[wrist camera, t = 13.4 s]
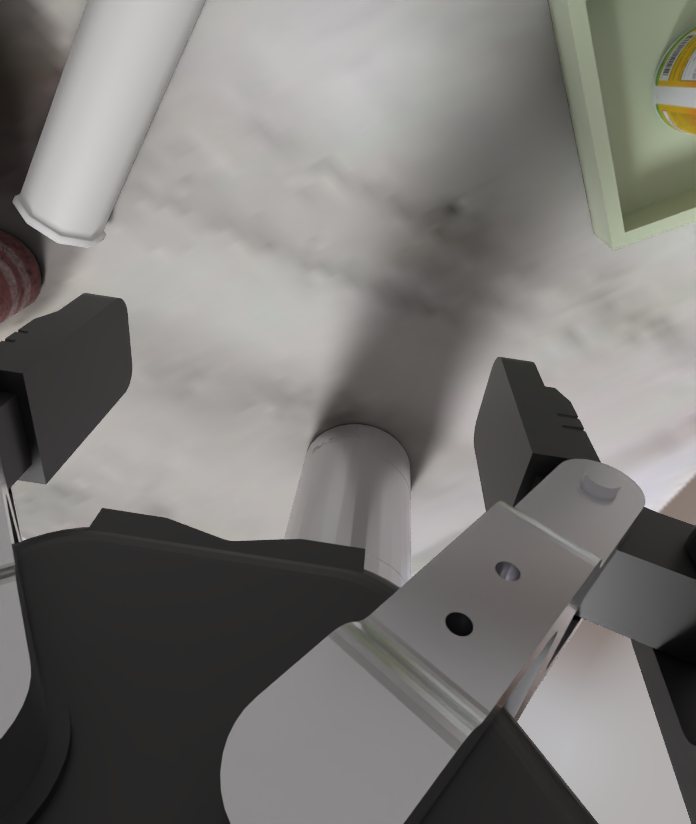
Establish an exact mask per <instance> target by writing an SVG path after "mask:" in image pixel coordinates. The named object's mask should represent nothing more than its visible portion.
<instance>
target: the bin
mask: <svg viewBox="0 0 696 824" xmlns="http://www.w3.org/2000/svg"><path fill="white" fill-rule="evenodd" d="M548 4H549V9H550V14H551V19H552V24H553V30H554V35H555V40H556V45H557V50H558V55H559V60H560V65H561V70H562V75H563V80H564V85H565V90H566V95H567V100H568V105H569V110H570V115H571V120H572V125H573V131H574V136H575V141H576V146H577V151H578V156H579V161H580V166H581V171H582V176H583V181H584V186H585V191H586V196H587V201H588V206H589V211H590V216H591V221H592V226H593V232H594V234H595V235H596V236H597V237H598V238H600V239H601V240H602V241H603V242H604V243H605V244H606V245H608V246H609V247H610V248H611V249H612V250H615V249H618V248H621V247H624V246H627V245H630V244H633V243H635V242H638V241H641V240H644V239H647V238H650V237H652V236H655V235H658V234H661V233H664V232H667V231H669V230H672V229H675V228H678V227H681V226H684V225H686V224H689V223H692V222H695V221H696V135H694V134H689V133H684V132H680V131H677V130H674V129H672V128H670V127H669V126H667V125H666V124H665V123H664V122H663V121H662V120H661V119H660V118H659V116H658V115H657V113H656V111H655V108H654V105H653V101H652V84H653V79H654V75H655V72H656V69H657V67H658V65H659V63H660V61H661V59H662V57H663V56H664V54H665V53H666V51H667V50H668V49H669V47H670V46H671V45H672V44H673V43H674V42H675V41H676V40H677V39H678V38H679V37H680V36H682V35H683V34H684V33H686V32H687V31H689V30H690V29H692V28H693V27H695V26H696V0H548Z"/></svg>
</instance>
